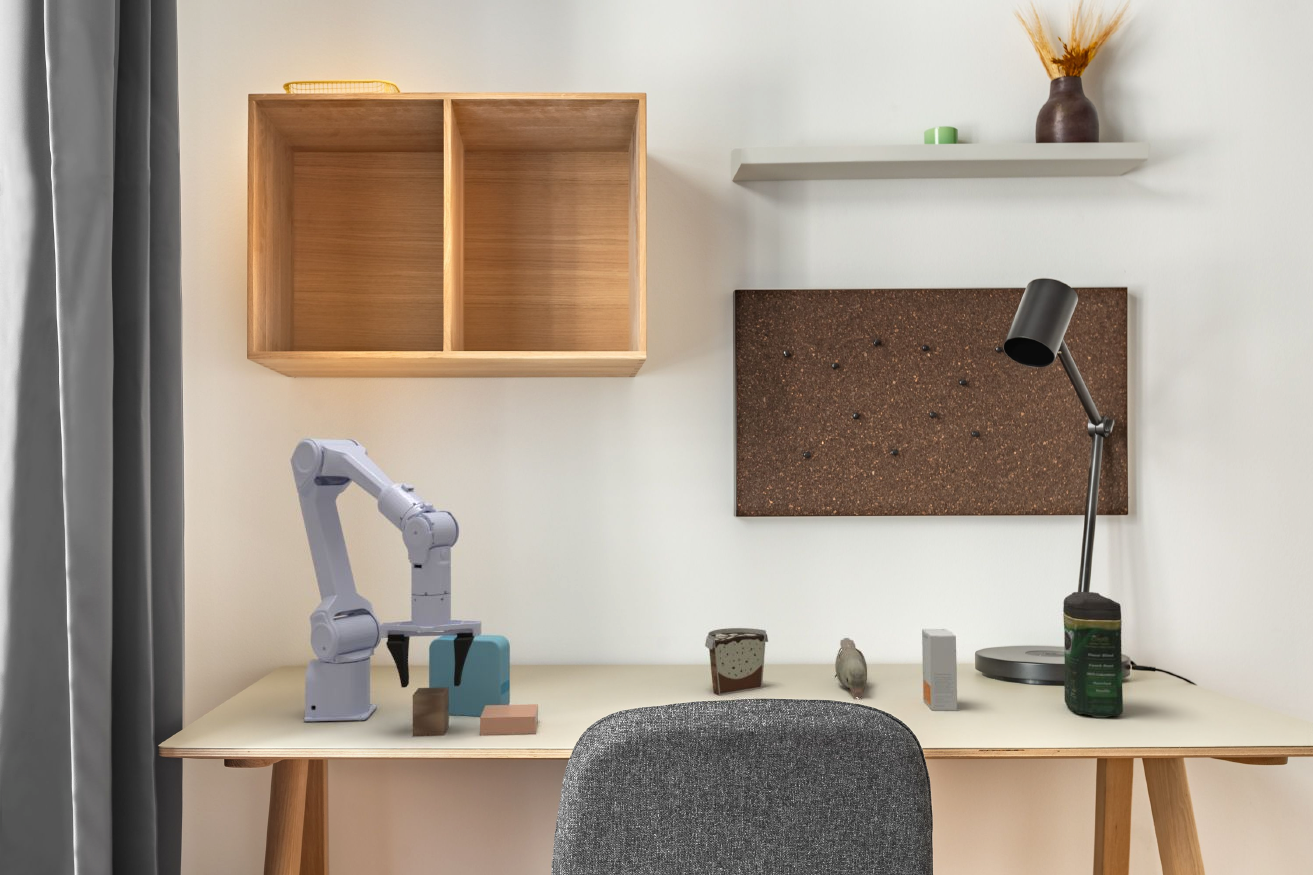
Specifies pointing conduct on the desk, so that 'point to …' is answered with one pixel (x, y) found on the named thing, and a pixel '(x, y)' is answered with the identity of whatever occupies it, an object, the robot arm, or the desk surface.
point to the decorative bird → (851, 667)
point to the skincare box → (939, 669)
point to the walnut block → (430, 711)
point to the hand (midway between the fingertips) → (431, 685)
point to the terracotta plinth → (509, 719)
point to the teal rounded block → (472, 673)
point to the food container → (736, 659)
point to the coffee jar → (1093, 654)
